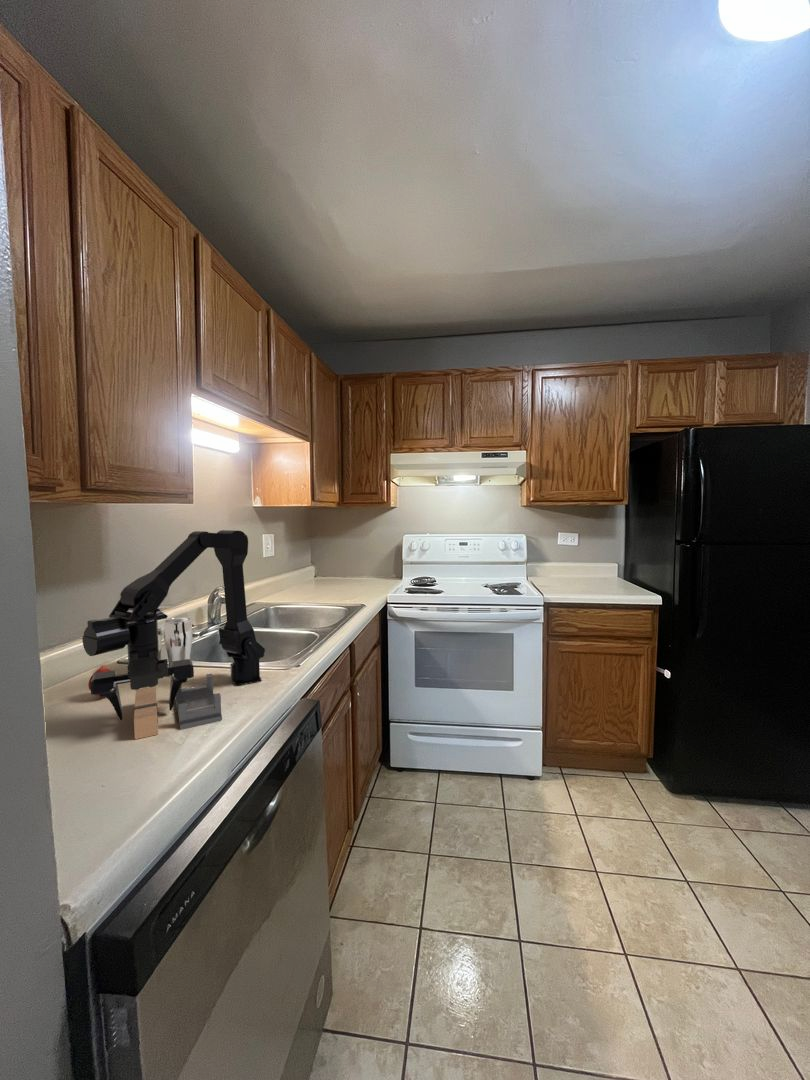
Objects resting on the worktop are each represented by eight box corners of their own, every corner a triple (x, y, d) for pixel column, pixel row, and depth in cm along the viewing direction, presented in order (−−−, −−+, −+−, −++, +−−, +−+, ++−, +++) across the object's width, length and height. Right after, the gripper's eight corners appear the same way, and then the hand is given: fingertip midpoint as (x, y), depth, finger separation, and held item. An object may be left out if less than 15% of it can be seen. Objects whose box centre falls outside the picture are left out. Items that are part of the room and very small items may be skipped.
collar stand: (211, 692, 113) (210, 672, 112) (222, 720, 97) (221, 697, 97) (175, 698, 109) (174, 678, 108) (180, 729, 93) (179, 705, 93)
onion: (101, 704, 106) (99, 670, 106) (83, 700, 108) (81, 667, 108) (123, 694, 112) (122, 662, 111) (106, 691, 114) (104, 660, 113)
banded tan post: (157, 703, 107) (156, 685, 107) (158, 734, 91) (157, 714, 91) (136, 707, 105) (135, 689, 105) (134, 740, 89) (133, 719, 89)
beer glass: (162, 679, 122) (160, 623, 121) (169, 670, 129) (166, 618, 128) (191, 676, 124) (189, 621, 123) (195, 668, 131) (193, 616, 130)
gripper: (85, 661, 85) (89, 742, 86) (194, 645, 95) (197, 719, 95) (91, 646, 95) (95, 719, 96) (190, 633, 104) (193, 700, 105)
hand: (146, 714), depth 98 cm, fingers open, 9 cm apart
